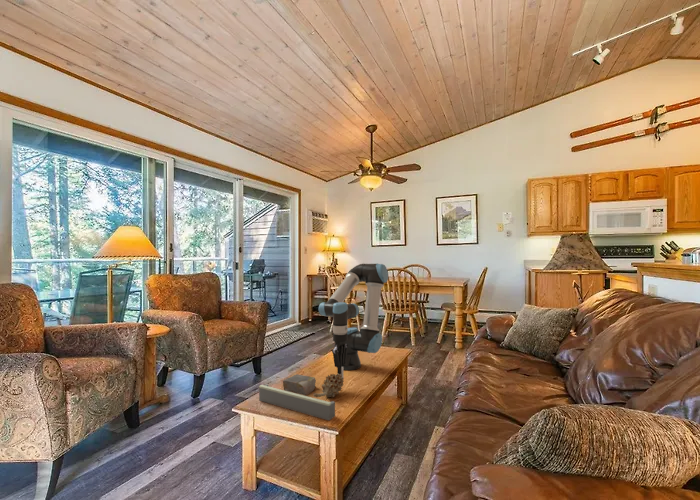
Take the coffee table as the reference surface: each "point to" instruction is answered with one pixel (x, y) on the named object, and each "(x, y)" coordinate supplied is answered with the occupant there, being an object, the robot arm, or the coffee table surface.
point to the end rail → (297, 402)
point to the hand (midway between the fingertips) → (340, 379)
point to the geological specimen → (299, 384)
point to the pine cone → (331, 386)
